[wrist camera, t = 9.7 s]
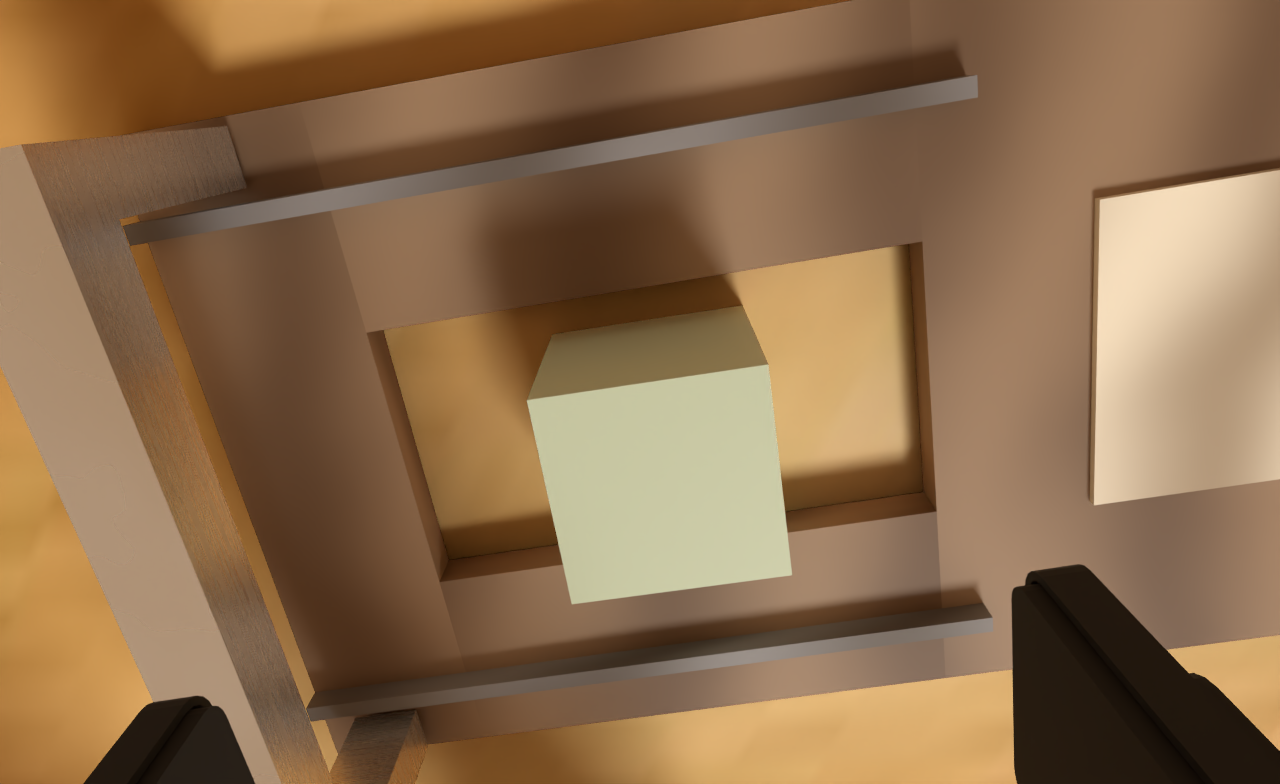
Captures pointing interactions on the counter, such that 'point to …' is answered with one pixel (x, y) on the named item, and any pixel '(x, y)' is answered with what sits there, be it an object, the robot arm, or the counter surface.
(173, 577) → the gate
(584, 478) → the block
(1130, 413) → the board
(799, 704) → the counter surface
